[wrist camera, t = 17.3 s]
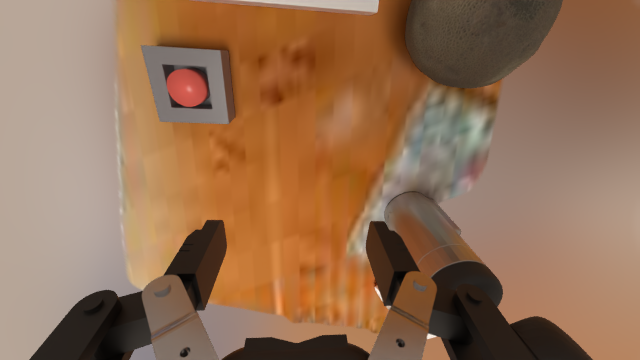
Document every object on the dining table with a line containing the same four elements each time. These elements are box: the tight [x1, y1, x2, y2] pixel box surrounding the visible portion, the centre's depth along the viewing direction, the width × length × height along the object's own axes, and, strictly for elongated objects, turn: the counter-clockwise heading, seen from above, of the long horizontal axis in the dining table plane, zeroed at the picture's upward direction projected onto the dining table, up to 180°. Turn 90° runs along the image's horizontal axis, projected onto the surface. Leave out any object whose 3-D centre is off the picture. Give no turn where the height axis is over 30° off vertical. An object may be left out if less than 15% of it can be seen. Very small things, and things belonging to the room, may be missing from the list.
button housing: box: [141, 45, 235, 124], centre depth 33 cm, size 9×9×4 cm
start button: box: [167, 68, 210, 107], centre depth 32 cm, size 4×4×3 cm
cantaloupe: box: [405, 0, 563, 88], centre depth 27 cm, size 14×14×15 cm
